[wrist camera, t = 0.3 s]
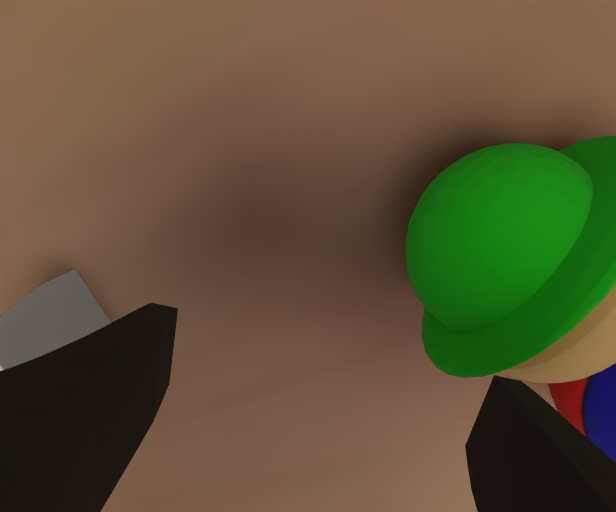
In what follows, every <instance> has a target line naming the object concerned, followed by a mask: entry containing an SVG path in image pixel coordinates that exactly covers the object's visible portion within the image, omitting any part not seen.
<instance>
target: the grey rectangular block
mask: <svg viewBox="0 0 616 512" xmlns="http://www.w3.org/2000/svg"><path fill="white" fill-rule="evenodd" d="M110 323H111V322H110V321H109V319H108V318H107V316H106V315H105V313H104V312H103V310H102V309H101V307H100V306H99V304H98V303H97V301H96V300H95V298H94V297H93V295H92V294H91V292H90V291H89V289H88V288H87V286H86V285H85V283H84V282H83V280H82V279H81V277H80V276H79V274H78V273H77V272H76V270H75V269H74V270H71V271H69V272H67V273H65V274H63V275H60V276H58V277H56V278H54V279H52V280H49V281H47V282H45V283H43V284H41V285H40V286H39V287H37V288H36V289H35V290H33V291H32V292H31V293H29V294H28V295H27V296H25V297H24V298H23V299H21V300H20V301H19V302H17V303H16V304H15V305H14V306H12V307H11V308H10V309H8V310H7V311H6V312H4V313H3V314H2V315H0V371H2V370H5V369H8V368H11V367H14V366H17V365H19V364H22V363H24V362H27V361H30V360H32V359H35V358H37V357H40V356H42V355H44V354H47V353H49V352H51V351H53V350H56V349H58V348H60V347H62V346H65V345H67V344H69V343H71V342H74V341H76V340H78V339H80V338H83V337H85V336H87V335H89V334H91V333H93V332H95V331H97V330H99V329H101V328H103V327H104V326H106V325H108V324H110Z"/></svg>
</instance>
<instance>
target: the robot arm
mask: <svg viewBox="0 0 616 512" xmlns="http://www.w3.org/2000/svg"><path fill="white" fill-rule="evenodd" d="M177 312H178V308H173V307H169V306H164V305H159V304H154V303H150V304H147V305H145V306H143V307H141V308H139V309H137V310H135V311H133V312H131V313H130V314H128V315H126V316H124V317H122V318H120V319H118V320H116V321H114V322H112V323H110V324H108V325H106V326H104V327H103V328H101V329H99V330H97V331H95V332H93V333H91V334H89V335H87V336H85V337H83V338H80V339H78V340H76V341H74V342H71V343H69V344H67V345H65V346H62V347H60V348H58V349H56V350H53V351H51V352H49V353H47V354H44V355H42V356H40V357H37V358H35V359H32V360H30V361H27V362H24V363H22V364H19V365H17V366H14V367H11V368H8V369H5V370H2V371H0V512H101V510H102V508H103V506H104V505H105V503H106V501H107V500H108V498H109V496H110V494H111V493H112V491H113V489H114V488H115V486H116V484H117V483H118V481H119V479H120V478H121V476H122V474H123V472H124V471H125V469H126V467H127V466H128V464H129V462H130V461H131V459H132V457H133V456H134V454H135V452H136V450H137V449H138V447H139V445H140V444H141V442H142V440H143V438H144V437H145V435H146V433H147V432H148V430H149V428H150V426H151V424H152V423H153V421H154V418H155V416H156V414H157V411H158V409H159V407H160V405H161V402H162V400H163V397H164V395H165V393H166V390H167V388H168V385H169V381H170V372H171V364H172V355H173V346H174V338H175V329H176V320H177ZM465 447H466V455H467V463H468V470H469V477H470V483H471V489H472V493H473V496H474V500H475V504H476V507H477V511H478V512H616V462H614V461H613V460H612V459H611V458H610V457H608V456H607V455H606V454H605V453H604V452H603V451H601V450H600V449H599V448H598V447H597V446H596V445H595V444H593V443H592V442H591V441H590V440H589V439H588V438H587V437H585V436H584V435H583V434H582V433H581V432H580V431H579V430H578V429H576V428H575V427H574V426H573V425H572V424H571V423H570V422H569V421H568V420H566V419H565V418H564V417H563V416H562V415H561V414H560V413H559V412H557V411H556V410H555V409H554V408H553V407H552V406H551V405H550V404H549V403H547V402H546V401H545V400H544V399H543V398H542V397H540V396H539V395H538V394H537V393H536V392H535V391H533V390H532V389H531V388H530V387H528V386H527V385H526V384H524V383H523V382H521V381H518V380H513V379H509V378H504V377H499V376H495V375H494V377H493V379H492V382H491V384H490V387H489V389H488V392H487V394H486V397H485V399H484V401H483V404H482V406H481V409H480V411H479V414H478V416H477V419H476V421H475V424H474V426H473V428H472V431H471V433H470V436H469V438H468V441H467V443H466V446H465Z"/></svg>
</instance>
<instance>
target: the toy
mask: <svg viewBox="0 0 616 512" xmlns="http://www.w3.org/2000/svg"><path fill="white" fill-rule="evenodd" d="M405 259H406V266H407V272H408V275H409V278H410V281H411V284H412V287H413V288H414V290H415V292H416V294H417V296H418V298H419V299H420V301H421V302H422V303H423V305H424V306H425V309H424V315H423V321H422V338H423V343H424V347H425V351H426V353H427V355H428V356H429V358H430V359H431V361H432V362H433V363H434V365H435V366H436V367H437V368H438V369H440V370H442V371H443V372H445V373H447V374H449V375H453V376H458V377H463V378H465V377H481V376H486V375H490V374H493V373H497V372H501V373H503V374H506V375H508V376H511V377H513V378H516V379H520V380H524V381H528V382H535V383H549V388H550V392H551V395H552V398H553V400H554V403H555V405H556V408H557V410H558V412H559V413H560V414H561V415H562V416H563V417H564V418H565V419H566V420H568V421H569V422H570V423H571V424H572V425H573V426H574V427H575V428H576V429H578V430H579V431H580V432H581V433H582V434H583V435H584V436H585V437H587V438H588V439H589V440H590V441H591V442H592V443H593V444H595V445H596V446H597V447H598V448H599V449H600V450H601V451H603V452H604V453H605V454H606V455H607V456H608V457H610V458H611V459H612V460H613V461H614V462H616V136H604V137H598V138H592V139H586V140H583V141H581V142H578V143H576V144H573V145H571V146H568V147H566V148H563V149H561V150H558V151H556V150H554V149H552V148H548V147H544V146H539V145H535V144H526V143H504V144H499V145H494V146H489V147H484V148H482V149H480V150H477V151H475V152H472V153H470V154H468V155H465V156H463V157H462V158H460V159H459V160H457V161H456V162H454V163H453V164H451V165H450V166H448V167H447V168H446V169H444V170H443V171H442V172H441V173H440V174H439V175H438V176H437V177H436V178H435V179H434V180H433V181H432V182H431V183H430V184H429V186H428V187H427V188H426V190H425V191H424V192H423V194H422V195H421V196H420V199H419V201H418V203H417V205H416V207H415V209H414V212H413V214H412V216H411V218H410V220H409V224H408V230H407V236H406V242H405Z"/></svg>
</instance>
